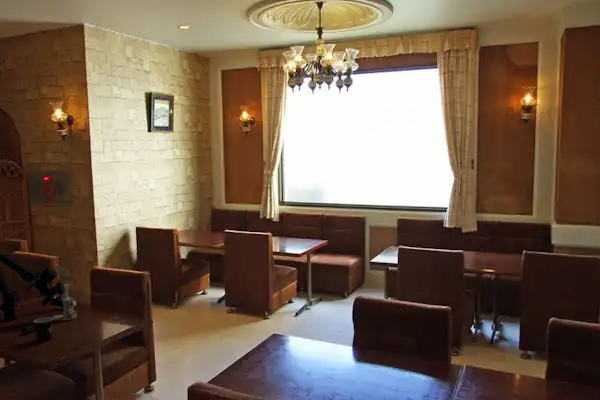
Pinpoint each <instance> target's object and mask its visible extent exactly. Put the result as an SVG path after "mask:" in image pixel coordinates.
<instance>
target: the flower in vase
mask: <svg viewBox="0 0 600 400" xmlns="http://www.w3.org/2000/svg"><path fill="white" fill-rule="evenodd" d="M57 273H58V274H59V275H61V276H60V277H61V279H60V278H58V279H57V283H58V282H60V281H61V282H62V283H64V288H63V289H64V290H65V292H64V293H63V297H62V298H61V299H62V301H63V300H64V299H66V298H67V297H69V288H70V286H71V284H68V283H67V282H68V280H66V281H63V277H69V276H70V275H71V271H70V269H69V268H67V267H65V266H58V268H57ZM66 283H67V284H66ZM76 306H77V302H76V301H75V300H74V299H73V308H74V307H76ZM55 307H56V308H57V309H59V310H60V309H61V310H64V308H61V307H57V306H55Z"/></svg>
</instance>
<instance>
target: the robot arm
mask: <svg viewBox="0 0 600 400" xmlns="http://www.w3.org/2000/svg"><path fill="white" fill-rule="evenodd" d="M0 262H1V263H2V264H4V265H5V266H7V267H8V268H9V269H12V270H13V271H15V272H16V273H17V274H19V276H20V277H21V279H22V280H23V281H24V282H26V283H29V289H33V288H35V289H36V290H37V291H38V292H39V293H40V294H39V295H40V296H43V297H44V299H42V301H41V303H40V304H41V306H42V307H44V308H45V307H46V306H47V305H48V304H49V306H54V307H56V306H57V307H61V308H63V301H62V299H63V298H62V295H64V292H65V290H64V289H63V288H64V284H65V282H61V281H60V282H58V281H57V282H56V285H52V284H50V285H49V283H52V281H53V280H54V279H56V277H57V276H58V271H56V270H54V269H52V268H50V267H46V269H45V270H44V271H43V272H40V271H37V270H36V269H33V268H31V267H26V266H25V265H23V264H22V263H21V262H19V261H17V260H15V259H14V258H13V257H11V256H10V255H8V254H7V253H6V252H5V253H0ZM0 292H1V298H2V299H1V300H2V302H3V303H2V304H1V305H0V311H1V312H2V315H3V316H2V318H0V320H1V321H4V322H10V321H14V320H17V319H19V317H18V316H16V308H15V307H17V306H18V304H19V303H20V302H21V295H20V294H19V291H18V290H17V289H15V290H13V289H11V287H10V285H9V283H8V281H7V280H6V279H5V276H3V274H2V272H1V271H0ZM49 302H50V303H49ZM57 307H56V308H57Z"/></svg>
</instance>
